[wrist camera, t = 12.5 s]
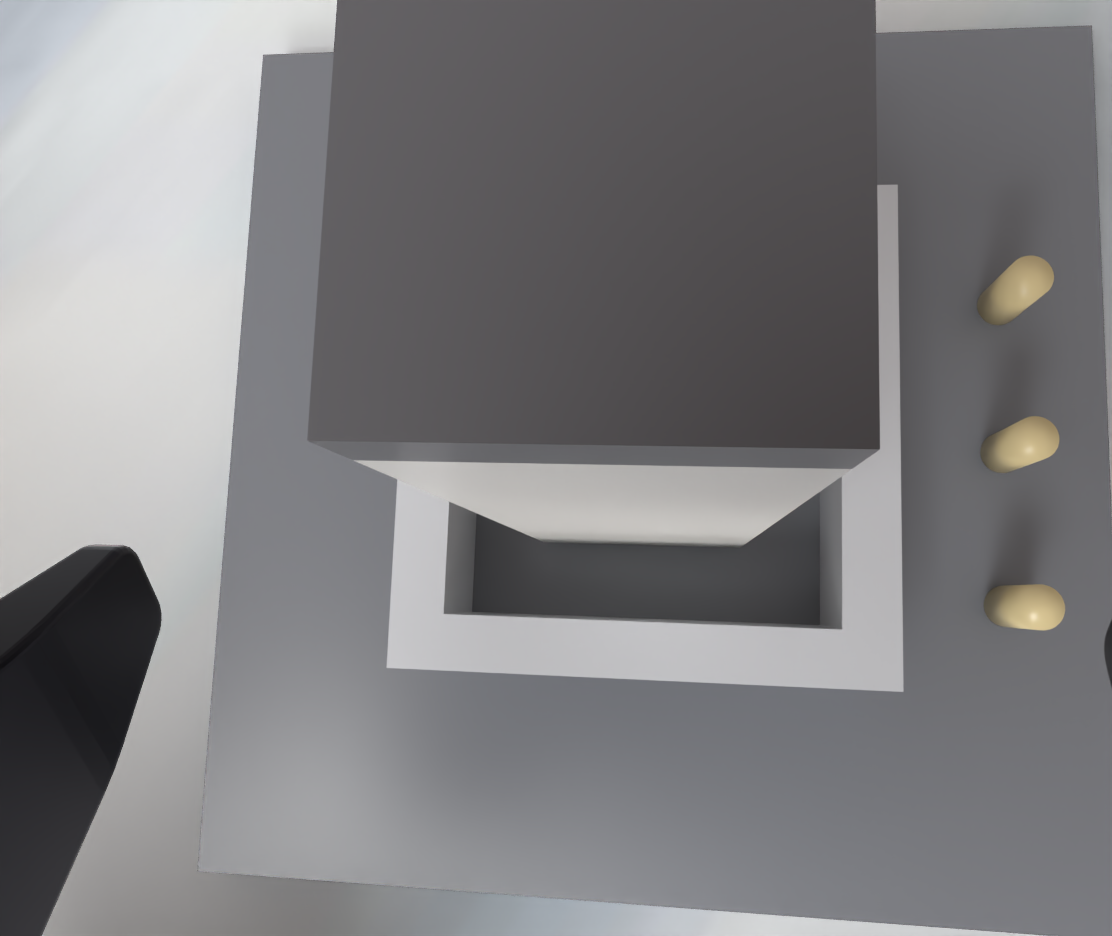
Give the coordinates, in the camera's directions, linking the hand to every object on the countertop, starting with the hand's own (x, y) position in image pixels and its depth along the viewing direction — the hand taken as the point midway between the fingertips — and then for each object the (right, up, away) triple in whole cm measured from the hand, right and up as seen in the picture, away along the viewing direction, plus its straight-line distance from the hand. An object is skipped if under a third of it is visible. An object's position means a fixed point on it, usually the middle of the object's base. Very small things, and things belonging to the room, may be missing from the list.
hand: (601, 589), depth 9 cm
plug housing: (+1, +1, +11) cm, 11 cm away
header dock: (+2, +1, +12) cm, 12 cm away
